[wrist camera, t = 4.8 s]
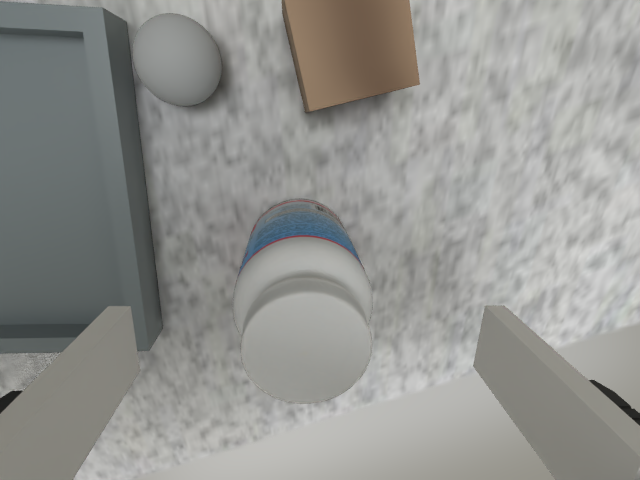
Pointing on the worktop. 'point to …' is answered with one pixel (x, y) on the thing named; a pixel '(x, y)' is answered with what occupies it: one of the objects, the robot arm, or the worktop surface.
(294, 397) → the pill bottle
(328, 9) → the walnut block
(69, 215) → the tray
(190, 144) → the worktop surface
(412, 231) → the worktop surface
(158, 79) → the ball
